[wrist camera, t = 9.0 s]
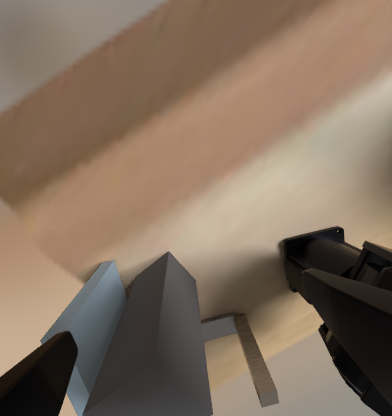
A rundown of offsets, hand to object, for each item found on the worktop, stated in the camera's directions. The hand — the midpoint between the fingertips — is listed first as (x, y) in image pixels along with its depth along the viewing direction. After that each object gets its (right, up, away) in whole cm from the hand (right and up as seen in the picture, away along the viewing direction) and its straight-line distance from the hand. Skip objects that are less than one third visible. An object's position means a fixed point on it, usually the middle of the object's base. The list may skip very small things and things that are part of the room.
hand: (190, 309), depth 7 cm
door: (-8, -6, +13) cm, 17 cm away
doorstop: (-3, -4, +14) cm, 15 cm away
